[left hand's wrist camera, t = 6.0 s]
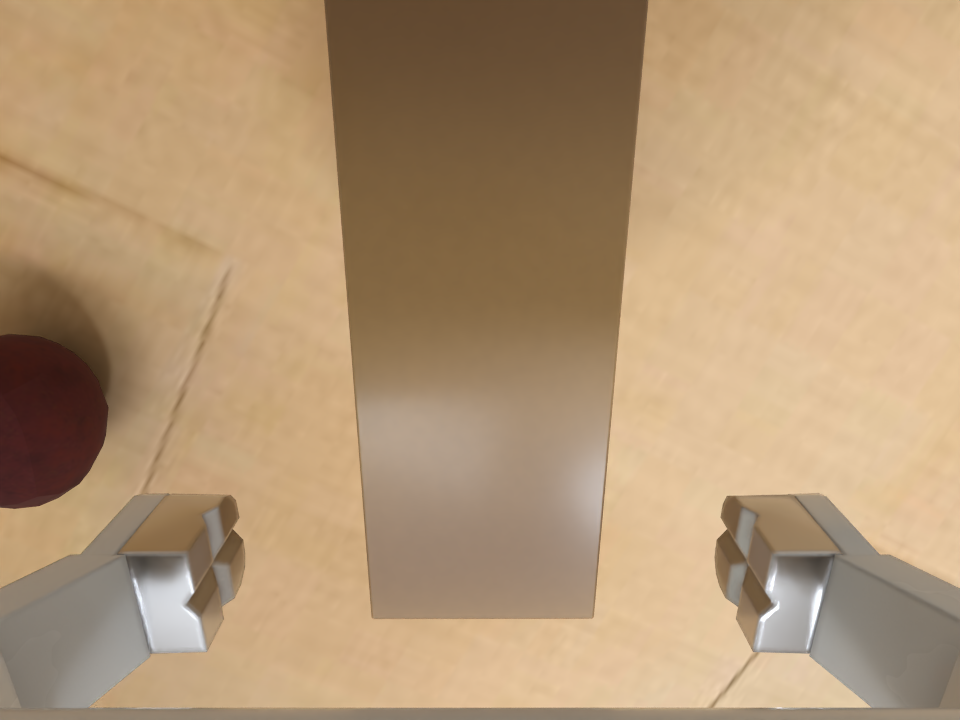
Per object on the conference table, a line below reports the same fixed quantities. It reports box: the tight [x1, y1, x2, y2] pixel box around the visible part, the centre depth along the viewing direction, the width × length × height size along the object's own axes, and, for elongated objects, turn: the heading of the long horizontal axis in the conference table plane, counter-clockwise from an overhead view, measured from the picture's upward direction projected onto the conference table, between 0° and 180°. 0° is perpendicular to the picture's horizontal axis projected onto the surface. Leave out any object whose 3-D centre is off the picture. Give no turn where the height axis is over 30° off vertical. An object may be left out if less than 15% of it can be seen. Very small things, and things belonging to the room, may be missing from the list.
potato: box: [0, 334, 108, 509], centre depth 27 cm, size 7×8×7 cm
